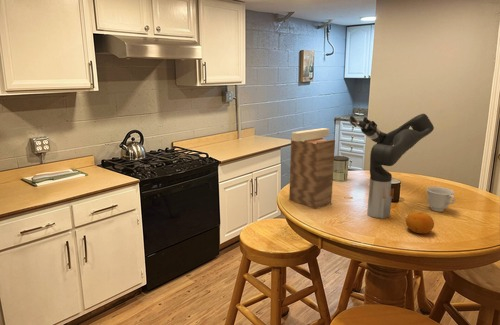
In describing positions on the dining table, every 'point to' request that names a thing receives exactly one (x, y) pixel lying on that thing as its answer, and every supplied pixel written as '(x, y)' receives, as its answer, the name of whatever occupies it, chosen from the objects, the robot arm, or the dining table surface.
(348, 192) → the dining table surface
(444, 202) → the teacup
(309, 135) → the block
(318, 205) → the brown patterned box
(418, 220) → the fruit
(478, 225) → the dining table surface
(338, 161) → the coffee can
